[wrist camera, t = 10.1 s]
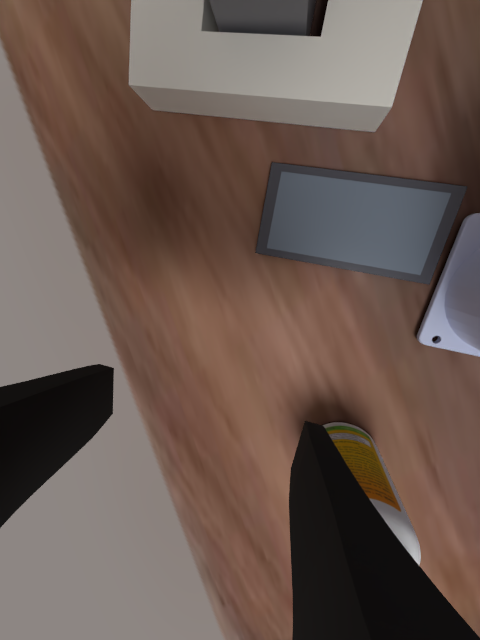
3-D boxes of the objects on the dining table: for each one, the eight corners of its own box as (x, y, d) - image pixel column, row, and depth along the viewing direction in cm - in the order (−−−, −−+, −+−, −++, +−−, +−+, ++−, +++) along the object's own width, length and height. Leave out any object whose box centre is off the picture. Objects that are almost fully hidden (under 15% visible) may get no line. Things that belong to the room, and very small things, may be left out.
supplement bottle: (291, 437, 20) (292, 589, 11) (351, 408, 19) (410, 559, 9) (329, 485, 21) (359, 669, 11) (390, 461, 19) (483, 655, 10)
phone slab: (273, 167, 16) (272, 161, 15) (456, 191, 14) (468, 186, 13) (257, 253, 18) (255, 252, 17) (420, 282, 16) (429, 284, 15)
